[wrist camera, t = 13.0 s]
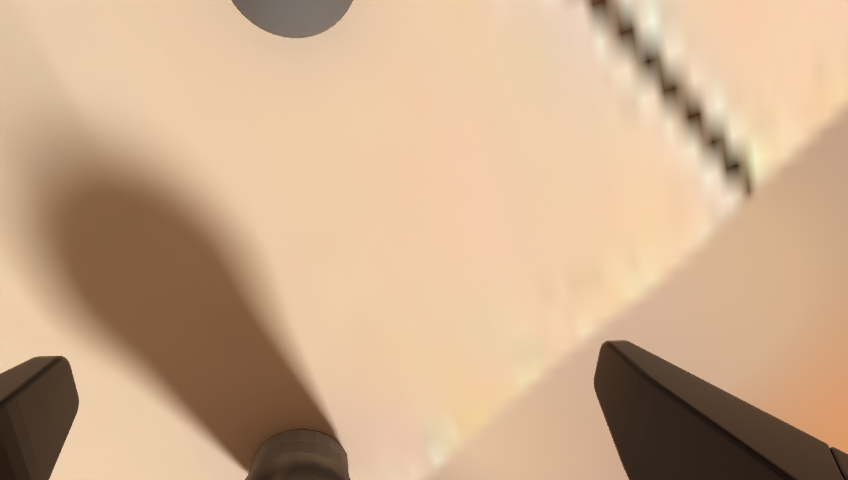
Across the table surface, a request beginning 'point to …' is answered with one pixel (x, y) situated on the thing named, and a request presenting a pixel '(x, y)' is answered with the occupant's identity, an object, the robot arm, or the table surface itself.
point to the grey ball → (293, 15)
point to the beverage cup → (300, 458)
